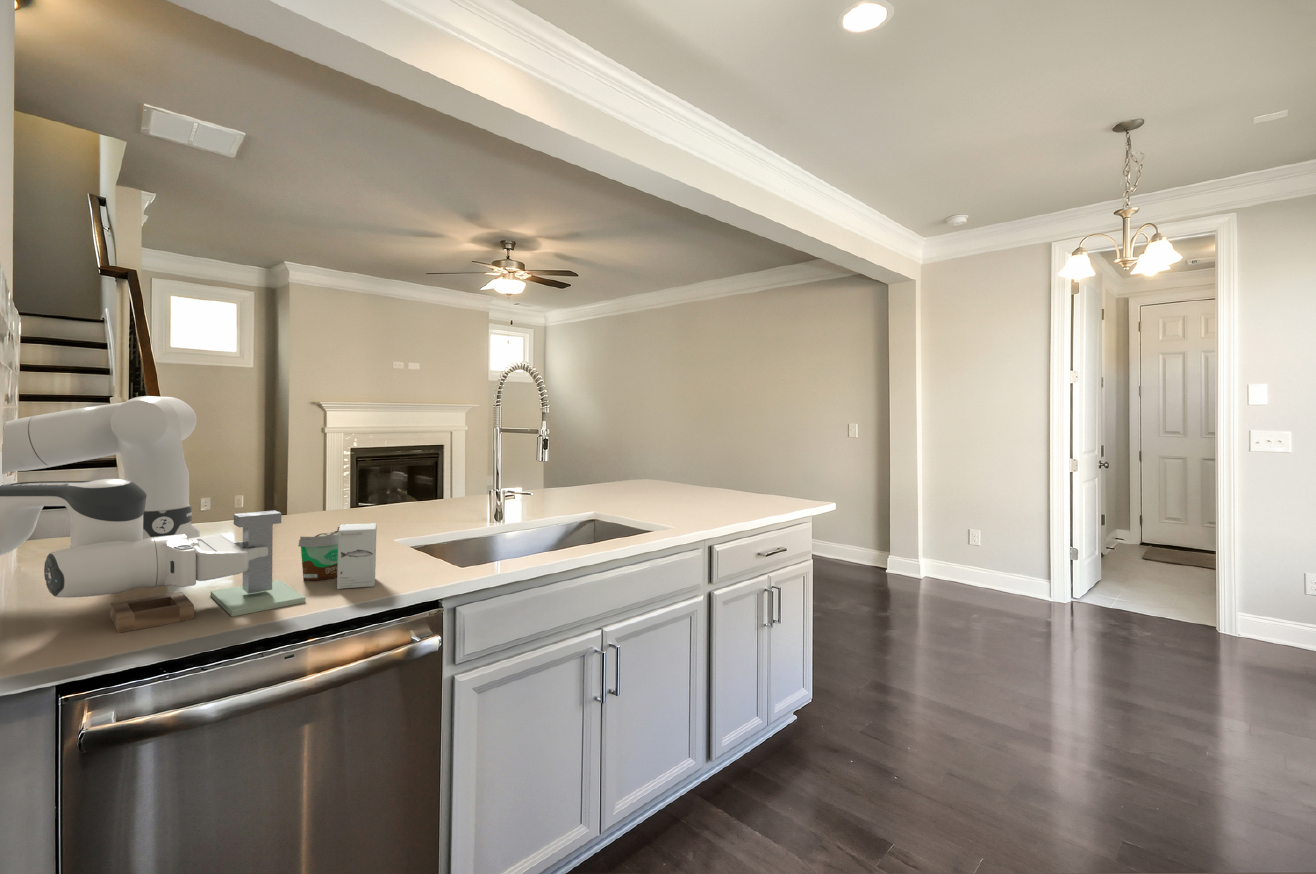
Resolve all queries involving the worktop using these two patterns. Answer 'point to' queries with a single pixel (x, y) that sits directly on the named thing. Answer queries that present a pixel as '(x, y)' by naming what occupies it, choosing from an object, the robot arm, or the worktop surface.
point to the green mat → (256, 598)
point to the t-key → (256, 535)
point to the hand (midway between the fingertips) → (262, 548)
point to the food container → (320, 556)
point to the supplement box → (356, 555)
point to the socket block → (151, 611)
